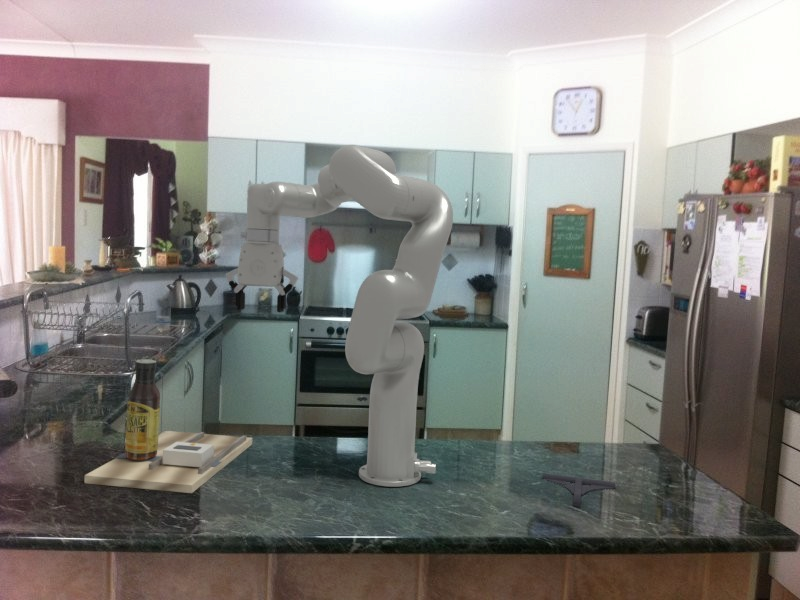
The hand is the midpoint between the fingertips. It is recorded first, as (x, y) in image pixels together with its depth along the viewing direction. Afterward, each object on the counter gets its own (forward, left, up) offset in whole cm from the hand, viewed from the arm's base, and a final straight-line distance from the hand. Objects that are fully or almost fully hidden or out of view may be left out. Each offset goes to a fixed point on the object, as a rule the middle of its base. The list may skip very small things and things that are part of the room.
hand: (260, 310), depth 158 cm
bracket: (-72, +20, -31) cm, 81 cm away
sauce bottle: (+15, +26, -29) cm, 42 cm away
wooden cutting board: (+10, +22, -30) cm, 39 cm away
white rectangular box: (+5, +26, -28) cm, 39 cm away
